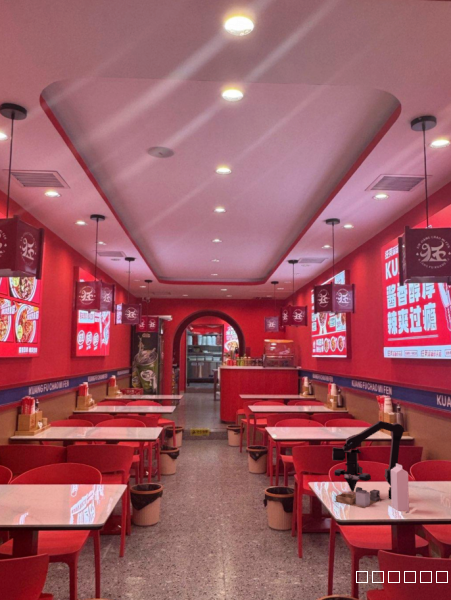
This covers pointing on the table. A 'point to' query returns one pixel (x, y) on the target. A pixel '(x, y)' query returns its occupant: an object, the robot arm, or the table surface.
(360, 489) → the wheel
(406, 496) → the milk
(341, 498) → the frame
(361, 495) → the block
